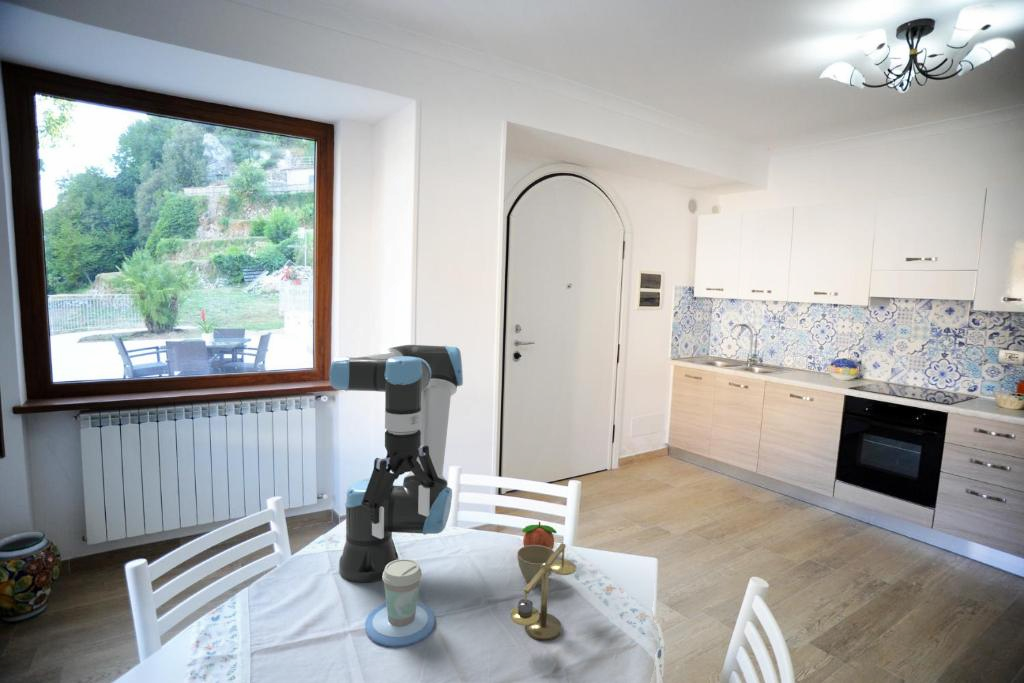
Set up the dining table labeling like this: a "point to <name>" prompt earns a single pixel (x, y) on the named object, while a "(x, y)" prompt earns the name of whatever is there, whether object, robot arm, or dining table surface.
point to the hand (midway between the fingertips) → (401, 525)
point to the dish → (399, 627)
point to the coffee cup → (401, 590)
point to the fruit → (539, 535)
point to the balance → (542, 600)
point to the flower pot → (533, 560)
